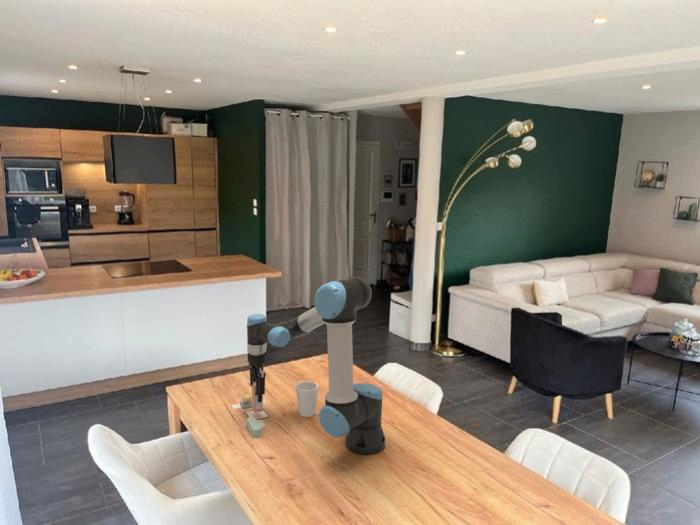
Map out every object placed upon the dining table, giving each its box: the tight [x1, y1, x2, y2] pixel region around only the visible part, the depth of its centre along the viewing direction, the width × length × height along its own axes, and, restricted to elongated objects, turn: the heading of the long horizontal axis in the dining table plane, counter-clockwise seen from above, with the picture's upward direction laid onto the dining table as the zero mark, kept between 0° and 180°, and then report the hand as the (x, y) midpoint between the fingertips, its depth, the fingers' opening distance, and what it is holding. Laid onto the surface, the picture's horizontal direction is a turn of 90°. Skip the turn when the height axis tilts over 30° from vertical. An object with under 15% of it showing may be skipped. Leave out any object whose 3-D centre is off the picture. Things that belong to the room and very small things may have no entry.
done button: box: [242, 393, 252, 402], centre depth 222 cm, size 4×4×2 cm
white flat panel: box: [230, 399, 271, 428], centre depth 214 cm, size 28×14×2 cm, turn 29°
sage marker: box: [245, 417, 264, 439], centre depth 201 cm, size 10×3×3 cm, turn 29°
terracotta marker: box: [251, 381, 264, 413], centre depth 213 cm, size 3×3×12 cm
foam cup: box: [295, 380, 319, 418], centre depth 216 cm, size 10×9×13 cm
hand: (257, 406), depth 213 cm, fingers closed on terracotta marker, 3 cm apart
